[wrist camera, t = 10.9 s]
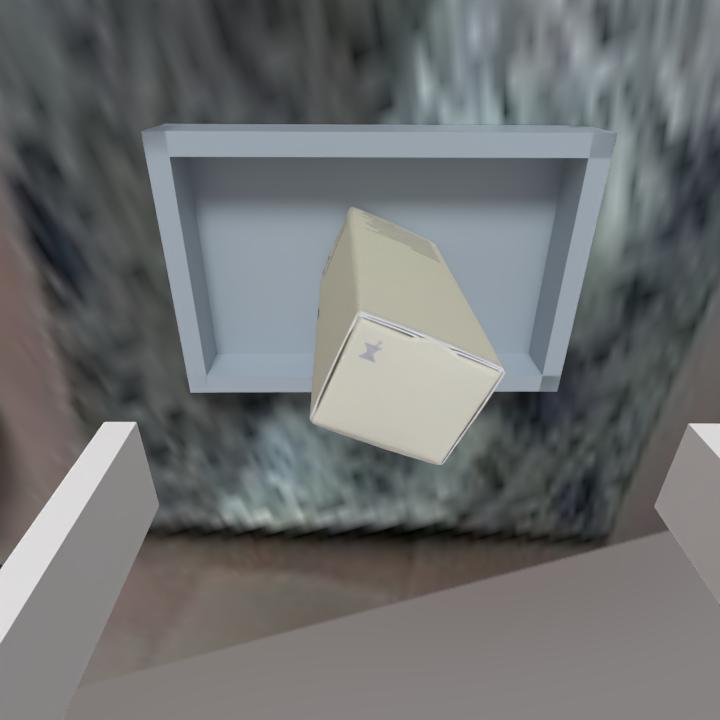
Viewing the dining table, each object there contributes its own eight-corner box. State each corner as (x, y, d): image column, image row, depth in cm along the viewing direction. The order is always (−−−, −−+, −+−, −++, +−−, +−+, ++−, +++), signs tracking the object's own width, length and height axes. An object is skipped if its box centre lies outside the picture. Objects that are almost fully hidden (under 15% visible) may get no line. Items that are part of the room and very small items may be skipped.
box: (318, 278, 27) (294, 424, 16) (351, 201, 25) (350, 305, 14) (407, 314, 28) (442, 474, 17) (445, 243, 26) (513, 371, 15)
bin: (166, 123, 24) (140, 131, 21) (586, 125, 24) (617, 132, 22) (205, 362, 31) (190, 392, 28) (538, 361, 31) (557, 391, 28)
